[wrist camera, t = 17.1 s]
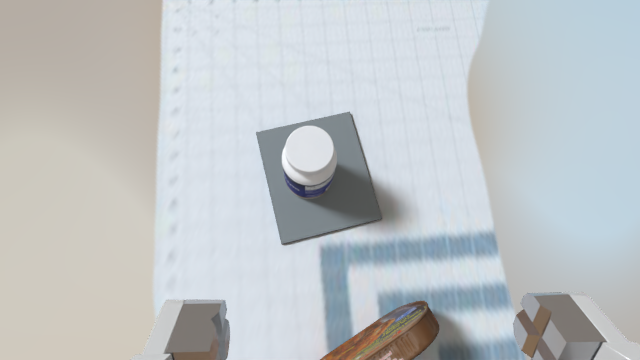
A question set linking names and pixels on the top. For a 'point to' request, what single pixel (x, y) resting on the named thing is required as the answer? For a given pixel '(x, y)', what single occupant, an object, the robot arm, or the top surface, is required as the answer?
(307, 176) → the pill bottle
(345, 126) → the mat
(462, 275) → the top surface
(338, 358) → the tin
